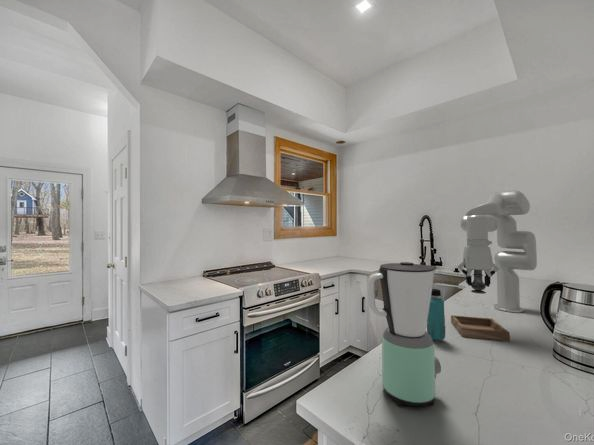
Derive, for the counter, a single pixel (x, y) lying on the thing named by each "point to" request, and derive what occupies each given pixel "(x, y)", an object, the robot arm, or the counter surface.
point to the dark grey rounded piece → (478, 282)
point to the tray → (480, 328)
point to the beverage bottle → (436, 317)
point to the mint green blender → (406, 332)
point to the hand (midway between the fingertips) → (478, 285)
